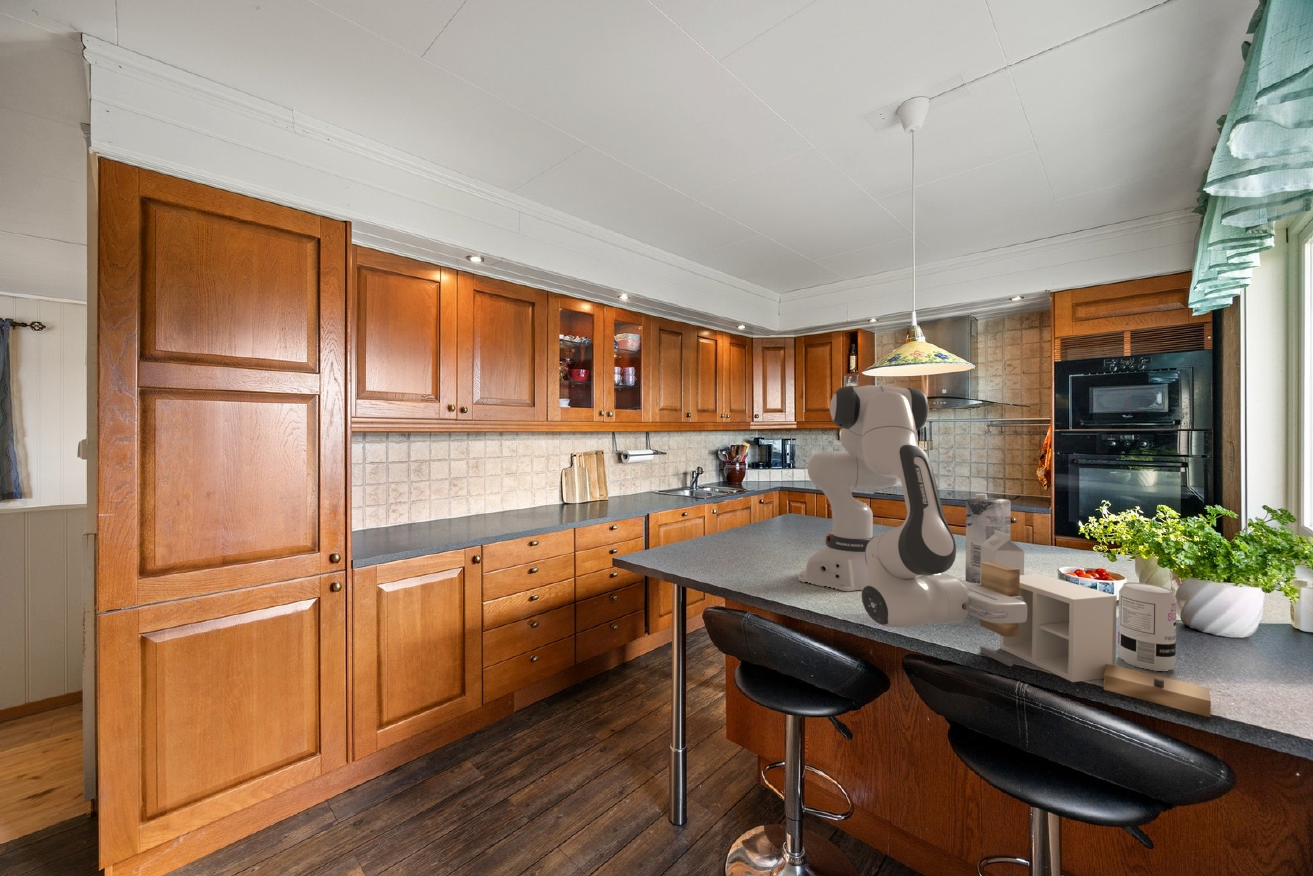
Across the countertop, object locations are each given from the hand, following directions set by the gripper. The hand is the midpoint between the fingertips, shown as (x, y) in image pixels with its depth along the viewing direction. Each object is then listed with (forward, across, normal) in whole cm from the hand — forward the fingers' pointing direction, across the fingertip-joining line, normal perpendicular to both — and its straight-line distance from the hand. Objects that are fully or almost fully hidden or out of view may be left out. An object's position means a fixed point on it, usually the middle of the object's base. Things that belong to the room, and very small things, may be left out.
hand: (1003, 594), depth 106 cm
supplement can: (+25, -9, +13) cm, 30 cm away
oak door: (-1, 0, +7) cm, 7 cm away
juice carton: (+36, +40, +13) cm, 55 cm away
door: (+12, -18, +13) cm, 26 cm away
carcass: (+6, -4, +13) cm, 15 cm away
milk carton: (+27, +26, +13) cm, 40 cm away
